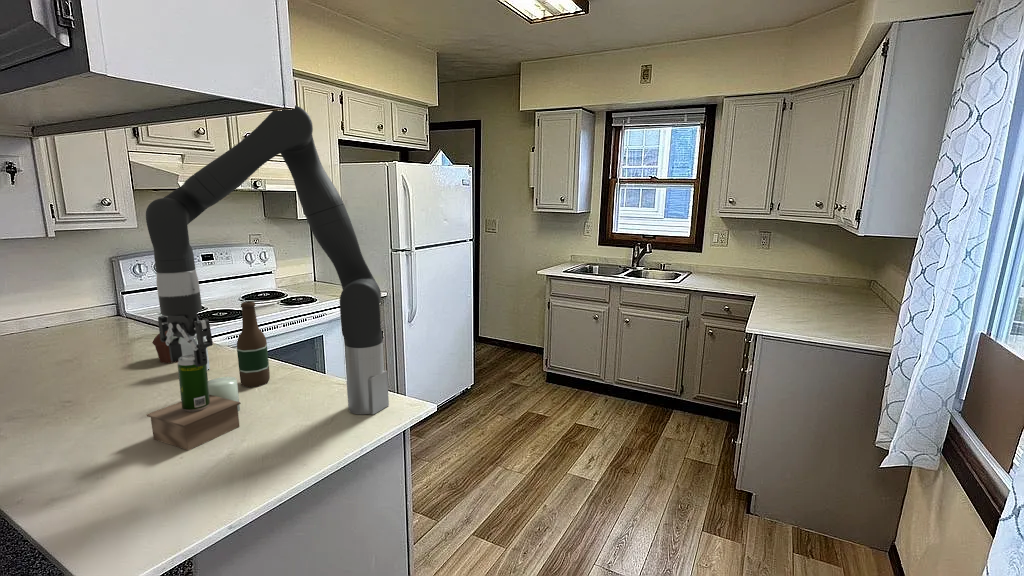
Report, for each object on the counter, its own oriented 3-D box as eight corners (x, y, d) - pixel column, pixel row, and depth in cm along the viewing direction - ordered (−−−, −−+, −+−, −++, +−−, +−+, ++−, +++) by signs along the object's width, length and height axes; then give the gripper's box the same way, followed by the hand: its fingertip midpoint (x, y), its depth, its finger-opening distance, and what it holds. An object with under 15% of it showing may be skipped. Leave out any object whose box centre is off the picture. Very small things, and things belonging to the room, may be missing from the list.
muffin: (147, 365, 157) (142, 335, 155) (166, 354, 167) (162, 326, 166) (186, 363, 158) (183, 333, 156) (203, 353, 169) (200, 325, 167)
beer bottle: (243, 390, 136) (235, 306, 132) (238, 382, 142) (229, 301, 138) (273, 383, 141) (266, 302, 137) (266, 375, 147) (259, 298, 143)
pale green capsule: (246, 408, 124) (243, 379, 123) (220, 420, 118) (216, 388, 117) (227, 404, 127) (224, 375, 126) (201, 415, 121) (197, 384, 119)
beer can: (215, 406, 112) (210, 355, 110) (191, 414, 107) (185, 362, 105) (201, 401, 114) (196, 352, 112) (176, 409, 109) (171, 358, 107)
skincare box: (210, 369, 153) (206, 332, 151) (200, 374, 149) (196, 336, 146) (192, 368, 153) (187, 331, 151) (182, 373, 149) (177, 335, 147)
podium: (242, 426, 115) (240, 402, 114) (187, 452, 103) (184, 425, 102) (206, 416, 120) (203, 393, 119) (149, 439, 108) (146, 414, 107)
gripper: (217, 290, 106) (226, 362, 109) (176, 286, 112) (185, 354, 115) (182, 297, 99) (193, 373, 102) (140, 292, 105) (151, 364, 108)
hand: (189, 363), depth 108 cm, fingers open, 8 cm apart
